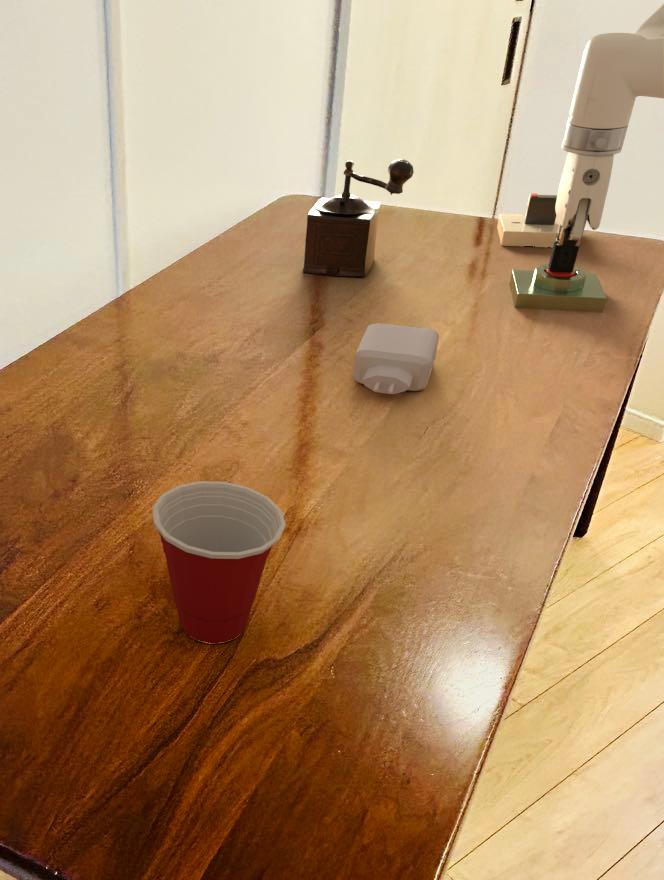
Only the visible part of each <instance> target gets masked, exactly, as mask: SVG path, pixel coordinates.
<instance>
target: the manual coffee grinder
mask: <svg viewBox="0 0 664 880" xmlns="http://www.w3.org/2000/svg"><path fill="white" fill-rule="evenodd" d="M354 165H355V163H354V161H353V160H352V159H349V160H347V161H346V162H345V164H344V166H345V169H344V171H343V175H344V185H343V191H342V192H341V194H338V195H335V196H333V197H331V198H330V197H329V198H328V197H321V198H319V199H318V200H317V201H316V203H315V204H314V206H313V207H311V209H310V210H309V212H308V214H307V217H306V232H305V243H304V244H305V245H304V259H303V260H304V261H303V268H302V273H306V274H316V275H323V276H333V277H334V276H335V277H339V276H341V277H360V278H361V277H366V276H367V275H368V274H369V272H370V270H371V268H372V267H373V264H374V261H375V250H376V240H377V232H378V225H379V218H380V210H381V202H379V201H370V200H364V199H362V198H360V197H358V196H357V195H354V194H351V192H350V190H351V182H352V179H353V180H355V181H358V182H361V183H366V184H368V185H372V186H375V187H379V188H382V189H384V190H386V191H387V192H388V193H389V194H390V195H391V196H392V195H393V194H394V195H395V194H396V195H399V194H400V195H401V194H402V193H403V190H404V189H403V187H404V184H405V183H407V182H408V181H409V180H410V179H411V178H412V177H413V175H414V172H415V171H414V166H413V164H411V162H409V161H408V160H407V159H404V158H398V159H395V160H393V161H392V162H390V164H389V165H388V167H387V172H388V177H389V178H388V179H389V181H388V182H384V181H382V180H379V179H377V178H372V177H369V176H364V175H360V174H357V173H355V172H354V170H353V168H354Z"/></svg>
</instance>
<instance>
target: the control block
mask: <svg viewBox="0 0 664 880" xmlns="http://www.w3.org/2000/svg"><path fill="white" fill-rule="evenodd" d="M548 265H549V263H546V264H541V265H539V266H537V267H535V269H534V270H524V269H512V270H511V274H510V279H509V282H508V283H509V288H510V292H511V297H512V301H513V307H514V309H530V310H531V309H533V310H546V311H547V310H549V311H564V312H565V311H566V312H568V311H569V312H583V313H601V314H602V313H604V309H605V306H606V303H607V299H608V297H607V295H606V293H605V291H604V289H603V286H602V284H601V281H600V280H599V279H600V278H599V276H598V274H597V273H591V272H589V273H588V272H586V270H585V269H583V268H581V267H578V266H577V265H576V266H575V265H574V270H575V271H576V273H575V276H573V277H556V276H552V275H549V274H547V273H546V269H547V268H548Z"/></svg>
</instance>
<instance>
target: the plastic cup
mask: <svg viewBox="0 0 664 880" xmlns="http://www.w3.org/2000/svg"><path fill="white" fill-rule="evenodd" d="M152 515H153V516H152V517H153V525H154V527H155V529H156V530H157V531H158V534H159V536H160V541H161V543H162V551H163V553H164V557H165V561H166V566H167V570H168V576H169V582H170V585H171V591H172V596H173V601H174V602H175V604H176V610H177V615H178V621H179V624H180V625H181V628H182V627H183V628H184V630H185V631H186V633H187V634H188V635H190V636H192V637H193V638H195V639H197V640H200V641H205V642H208V643H209V642H210V643H219V642H225V641H228V640H231V639H234V638H235V637H237V636H238V635H239V634H240V633H242V632H244V630H245V629H246V627H247V625H248V622H249V619H250V614H251V611H252V608H253V604H254V601H255V599H256V597H257V593H258V591H259V590H258V589H259V587H260V584H261V580H262V576H263V573H264V570H265V566H266V562H267V559H268V557H269V555H270V552H271V550H272V549H273V547H274V546H275V545H277V544H278V543H279V541H280V539H281V537H282V536H283V535H282V534H283V532H284V530H285V528H286V526H287V523H286V520H285V517H284V514H283V510H282V509H281V508H280V507H279V506H278V505H277V504H276V503H275V502H274V501H273V500H272V499H271V498H270V497H269V496H267V495H265V494H263V493H261V492H259V491H257V490H254V489H253V488H251V487H248V486H245V485H241V484H236V483H232V482H227V481H209V480H208V481H207V480H200V481H199V480H198V481H195V482H190V483H189V482H188V483H185V484H180V485H177V486H175V487H173V488H171V489H169V490H168V491H165V492H164V493H162V494H161V495H160V496H159V498H158V499H157V500H156V502H155V504H154V505H153V506H152ZM184 630H183V631H184ZM185 631H184V632H185ZM186 633H185V634H186ZM187 634H186V635H187ZM242 634H243V633H242ZM188 635H187V636H188Z"/></svg>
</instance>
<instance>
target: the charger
mask: <svg viewBox="0 0 664 880" xmlns="http://www.w3.org/2000/svg"><path fill="white" fill-rule="evenodd" d="M439 338H440V334H439V332H437V331H436V330H435V329H431V328H426V327H417V326H410V325H409V326H408V325H398V324H390V323H383V322H382V323H381V322H376V323H372V324H369V325H368V326H367V328H366V330H365V332H364V334H363V336H362V338H361V341H360V344H359V345H358V347H357V350H356V352H355V353H354V359H353V369H352V379H353V381H354V382H356V383H359V384H361V385H364V386H365V388H368V389H369V390H371V391H373V392H374V393H380V394H388V395H396V394H400V393H404V392H406V391H411V392H419V391H424V390H425V389H426V388H427V387H428V384H429V381H430V377H431V374H432V370H433V367H434V365H435V360H436V357H437V350H438V346H439V345H438V344H439Z"/></svg>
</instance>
